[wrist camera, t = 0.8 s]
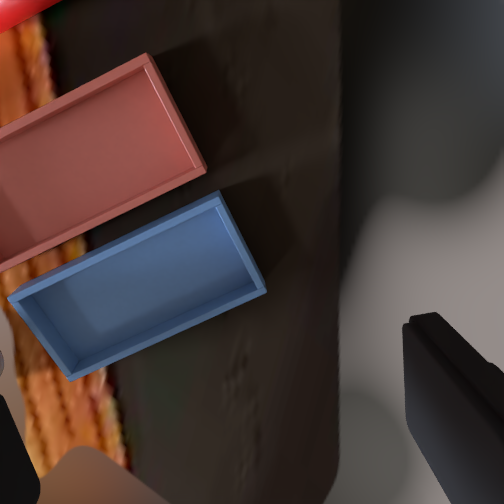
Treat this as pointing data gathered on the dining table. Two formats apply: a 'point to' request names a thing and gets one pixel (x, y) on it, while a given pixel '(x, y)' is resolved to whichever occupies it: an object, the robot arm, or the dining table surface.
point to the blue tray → (140, 288)
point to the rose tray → (91, 159)
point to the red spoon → (20, 11)
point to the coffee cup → (1, 363)
